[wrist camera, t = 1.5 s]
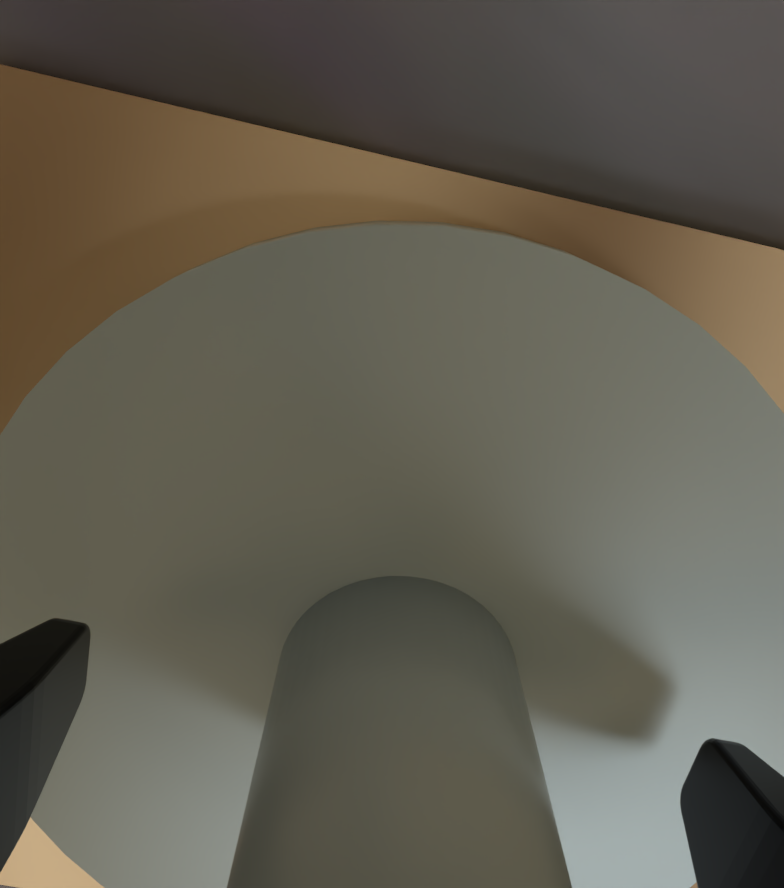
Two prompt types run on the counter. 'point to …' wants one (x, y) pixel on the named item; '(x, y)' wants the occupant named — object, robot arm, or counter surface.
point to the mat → (269, 216)
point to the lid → (397, 568)
